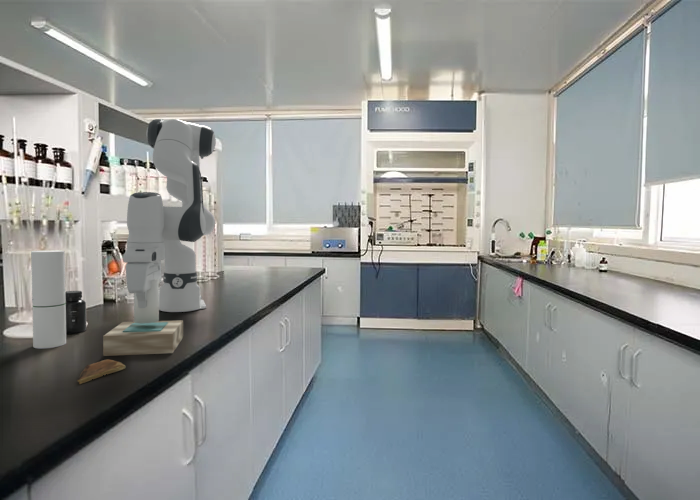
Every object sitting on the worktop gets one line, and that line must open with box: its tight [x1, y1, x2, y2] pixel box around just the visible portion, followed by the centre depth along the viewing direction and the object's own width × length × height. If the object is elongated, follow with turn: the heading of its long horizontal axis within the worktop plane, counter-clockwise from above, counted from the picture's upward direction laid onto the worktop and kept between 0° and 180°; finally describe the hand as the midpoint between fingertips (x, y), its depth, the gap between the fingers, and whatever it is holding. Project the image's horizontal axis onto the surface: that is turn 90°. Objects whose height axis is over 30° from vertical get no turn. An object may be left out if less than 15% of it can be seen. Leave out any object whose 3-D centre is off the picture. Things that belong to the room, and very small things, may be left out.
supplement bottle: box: [65, 290, 87, 335], centre depth 123 cm, size 7×7×12 cm
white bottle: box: [133, 274, 160, 323], centre depth 110 cm, size 6×6×13 cm
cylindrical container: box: [30, 249, 67, 350], centre depth 109 cm, size 7×7×25 cm
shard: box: [76, 358, 126, 385], centre depth 90 cm, size 11×8×2 cm
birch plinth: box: [102, 319, 184, 357], centre depth 111 cm, size 15×16×5 cm
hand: (146, 304), depth 110 cm, fingers closed on white bottle, 6 cm apart
